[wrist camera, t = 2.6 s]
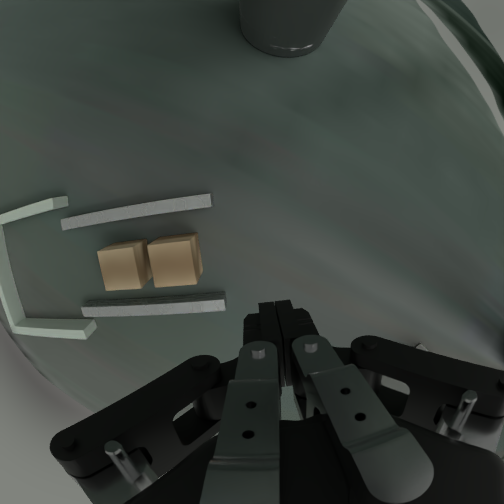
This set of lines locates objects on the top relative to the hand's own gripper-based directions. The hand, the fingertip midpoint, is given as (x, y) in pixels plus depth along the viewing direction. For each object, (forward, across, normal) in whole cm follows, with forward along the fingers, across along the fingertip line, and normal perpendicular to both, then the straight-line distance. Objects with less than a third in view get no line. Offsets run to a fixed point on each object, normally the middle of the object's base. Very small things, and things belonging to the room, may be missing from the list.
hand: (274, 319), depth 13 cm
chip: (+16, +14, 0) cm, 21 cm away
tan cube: (+16, +8, 0) cm, 17 cm away
